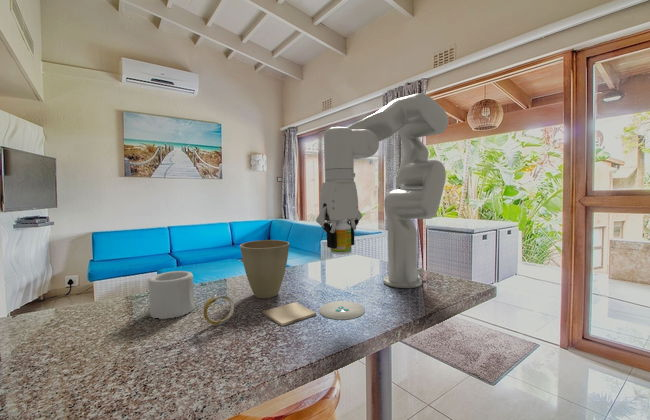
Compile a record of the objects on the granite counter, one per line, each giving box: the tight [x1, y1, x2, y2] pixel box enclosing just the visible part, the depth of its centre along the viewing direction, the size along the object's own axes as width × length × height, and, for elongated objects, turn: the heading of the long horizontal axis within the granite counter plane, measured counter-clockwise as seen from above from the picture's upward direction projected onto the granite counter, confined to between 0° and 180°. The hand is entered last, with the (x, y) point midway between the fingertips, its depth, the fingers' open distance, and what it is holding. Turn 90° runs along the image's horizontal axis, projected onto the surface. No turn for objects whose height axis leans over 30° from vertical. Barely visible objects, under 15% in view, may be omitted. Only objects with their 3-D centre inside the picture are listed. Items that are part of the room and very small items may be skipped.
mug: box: [147, 270, 195, 320], centre depth 83 cm, size 14×11×10 cm
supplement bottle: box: [330, 219, 352, 256], centre depth 80 cm, size 5×5×10 cm
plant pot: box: [239, 239, 290, 299], centre depth 94 cm, size 15×15×16 cm
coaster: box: [318, 300, 366, 321], centre depth 81 cm, size 12×12×1 cm
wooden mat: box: [262, 301, 317, 327], centre depth 79 cm, size 10×10×1 cm
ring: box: [202, 290, 235, 326], centre depth 73 cm, size 7×3×8 cm, turn 115°
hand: (340, 245), depth 80 cm, fingers closed on supplement bottle, 5 cm apart
